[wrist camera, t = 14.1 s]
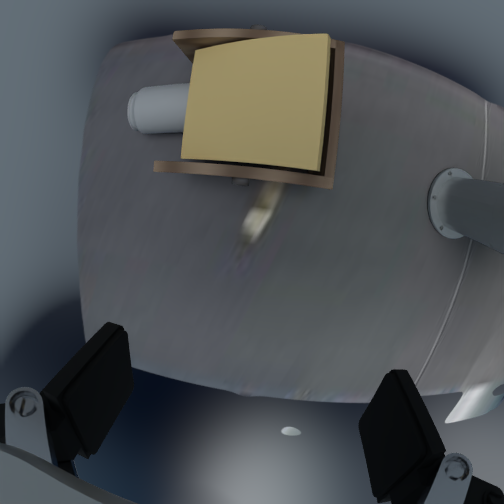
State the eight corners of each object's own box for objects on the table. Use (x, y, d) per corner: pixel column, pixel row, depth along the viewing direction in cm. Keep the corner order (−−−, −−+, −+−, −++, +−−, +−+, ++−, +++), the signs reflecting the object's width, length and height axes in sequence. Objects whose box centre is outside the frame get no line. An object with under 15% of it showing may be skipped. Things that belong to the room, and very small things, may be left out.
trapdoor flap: (330, 38, 20) (327, 33, 19) (319, 171, 24) (316, 170, 23) (200, 52, 27) (195, 50, 26) (186, 158, 31) (180, 158, 30)
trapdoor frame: (324, 73, 36) (344, 36, 22) (312, 188, 41) (331, 197, 28) (203, 63, 36) (175, 26, 23) (189, 175, 42) (152, 178, 28)
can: (216, 131, 40) (145, 133, 41) (218, 85, 37) (146, 90, 38) (204, 132, 33) (123, 136, 34) (206, 78, 30) (124, 86, 31)
